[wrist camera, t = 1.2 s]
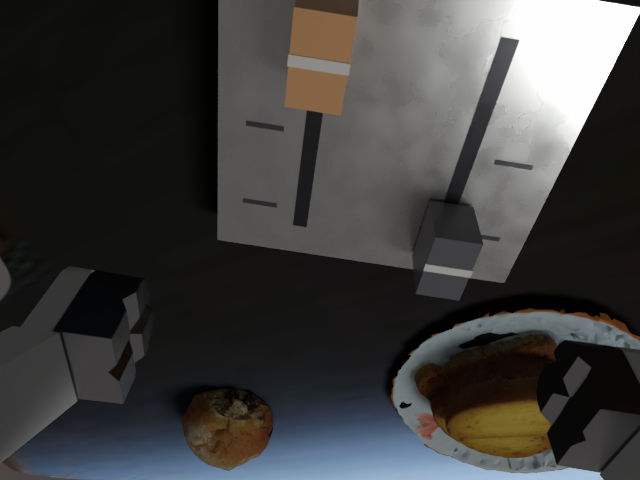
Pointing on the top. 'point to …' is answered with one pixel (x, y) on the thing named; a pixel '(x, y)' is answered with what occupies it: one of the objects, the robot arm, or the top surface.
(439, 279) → the black fader
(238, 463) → the bread roll
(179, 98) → the top surface
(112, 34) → the top surface
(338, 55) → the orange fader
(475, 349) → the food on plate
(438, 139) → the mixing panel
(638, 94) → the top surface
